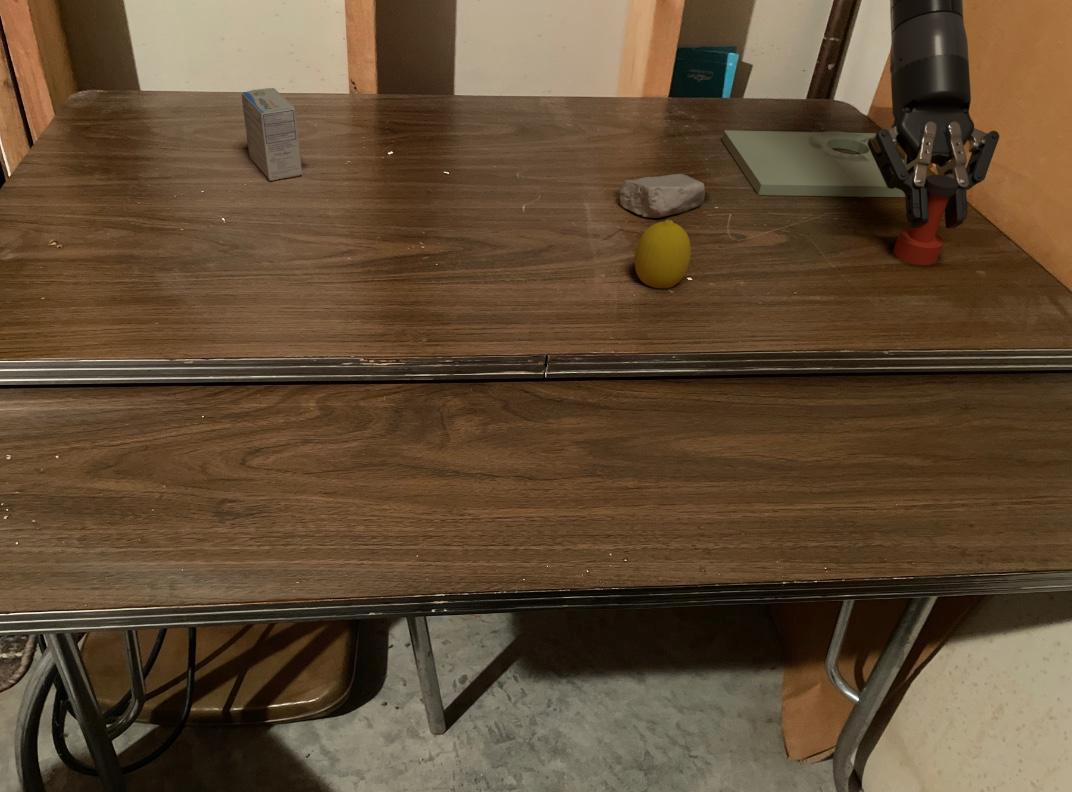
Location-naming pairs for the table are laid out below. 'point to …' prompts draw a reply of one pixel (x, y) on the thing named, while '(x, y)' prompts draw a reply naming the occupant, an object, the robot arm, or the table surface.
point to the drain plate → (808, 163)
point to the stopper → (924, 241)
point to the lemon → (662, 255)
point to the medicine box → (272, 133)
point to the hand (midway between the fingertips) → (937, 224)
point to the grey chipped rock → (662, 195)
